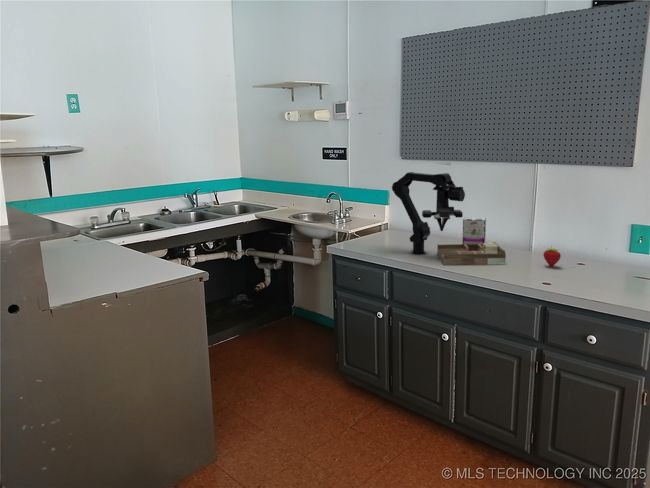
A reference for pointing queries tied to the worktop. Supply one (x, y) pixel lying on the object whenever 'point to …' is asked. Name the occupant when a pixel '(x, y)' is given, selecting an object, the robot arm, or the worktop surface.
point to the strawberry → (551, 256)
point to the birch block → (490, 248)
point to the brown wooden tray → (469, 255)
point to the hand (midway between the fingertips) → (441, 231)
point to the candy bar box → (474, 230)
